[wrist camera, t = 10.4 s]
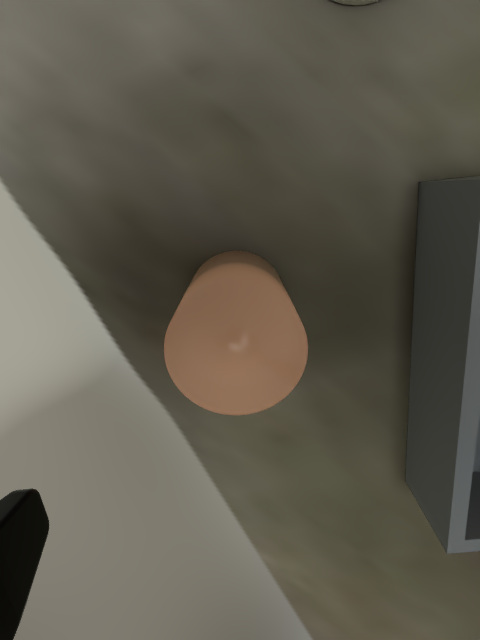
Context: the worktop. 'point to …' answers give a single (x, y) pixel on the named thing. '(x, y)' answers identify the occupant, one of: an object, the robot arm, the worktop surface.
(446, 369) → the tote
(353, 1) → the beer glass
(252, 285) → the terracotta cylinder
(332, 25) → the worktop surface
